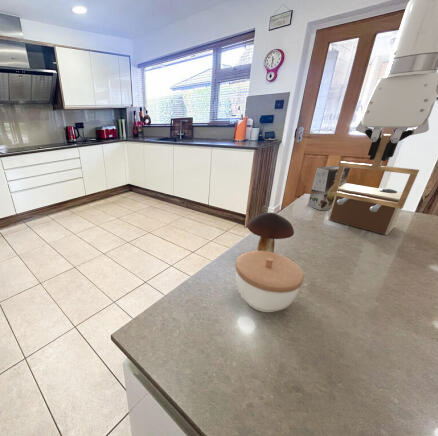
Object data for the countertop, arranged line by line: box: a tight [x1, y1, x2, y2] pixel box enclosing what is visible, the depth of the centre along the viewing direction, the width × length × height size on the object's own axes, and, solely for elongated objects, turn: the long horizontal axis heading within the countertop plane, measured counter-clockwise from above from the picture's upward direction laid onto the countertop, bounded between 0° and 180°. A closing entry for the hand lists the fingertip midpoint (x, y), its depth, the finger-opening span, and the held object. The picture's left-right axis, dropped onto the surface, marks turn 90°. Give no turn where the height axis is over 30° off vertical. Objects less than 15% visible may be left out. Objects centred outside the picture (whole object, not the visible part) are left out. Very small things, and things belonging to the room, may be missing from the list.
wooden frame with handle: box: [331, 133, 420, 210], centre depth 56 cm, size 14×1×16 cm, turn 36°
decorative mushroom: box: [246, 212, 295, 253], centre depth 61 cm, size 11×11×15 cm
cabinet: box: [327, 182, 403, 236], centre depth 77 cm, size 16×18×12 cm
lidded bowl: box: [234, 250, 305, 313], centre depth 50 cm, size 13×13×11 cm
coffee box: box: [307, 164, 351, 211], centre depth 93 cm, size 9×6×16 cm
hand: (378, 159), depth 55 cm, fingers closed on wooden frame with handle, 1 cm apart
